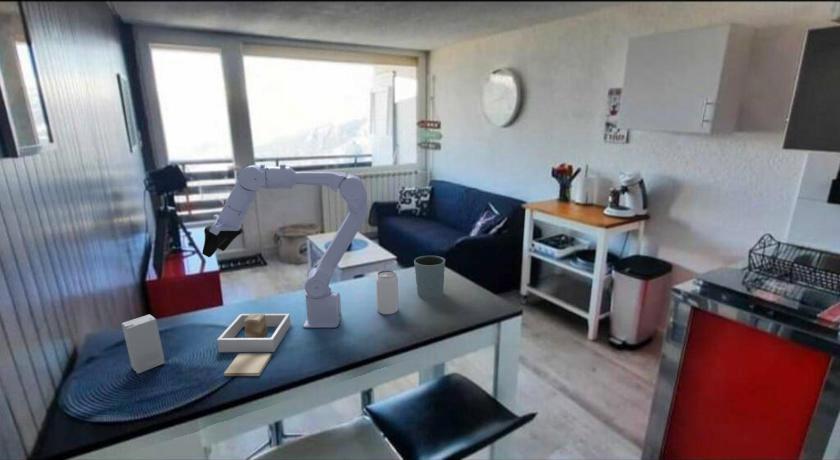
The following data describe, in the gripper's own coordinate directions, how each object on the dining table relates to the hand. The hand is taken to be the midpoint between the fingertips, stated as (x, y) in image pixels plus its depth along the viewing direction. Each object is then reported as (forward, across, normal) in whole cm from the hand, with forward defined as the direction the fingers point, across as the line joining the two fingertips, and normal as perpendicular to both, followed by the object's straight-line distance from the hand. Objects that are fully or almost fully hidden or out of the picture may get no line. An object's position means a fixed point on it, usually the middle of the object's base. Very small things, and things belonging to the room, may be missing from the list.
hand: (213, 252), depth 109 cm
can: (-4, -13, +50) cm, 52 cm away
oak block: (+15, +2, +21) cm, 26 cm away
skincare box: (+27, +14, +3) cm, 31 cm away
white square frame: (+15, +2, +21) cm, 26 cm away
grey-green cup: (-12, -25, +60) cm, 66 cm away
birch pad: (+14, +15, +24) cm, 32 cm away
